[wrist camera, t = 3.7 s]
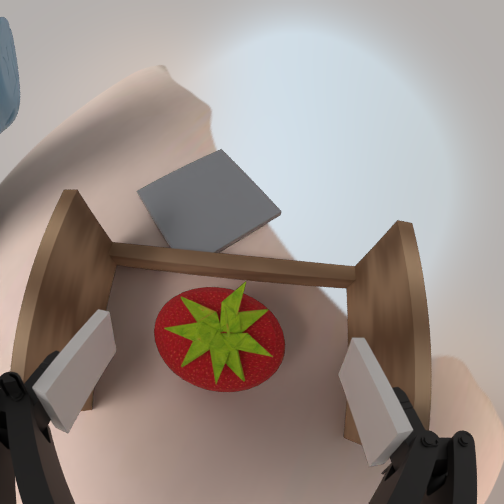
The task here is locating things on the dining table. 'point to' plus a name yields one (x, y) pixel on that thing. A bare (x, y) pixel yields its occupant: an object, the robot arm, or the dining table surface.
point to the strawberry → (219, 339)
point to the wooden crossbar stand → (234, 267)
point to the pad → (207, 204)
